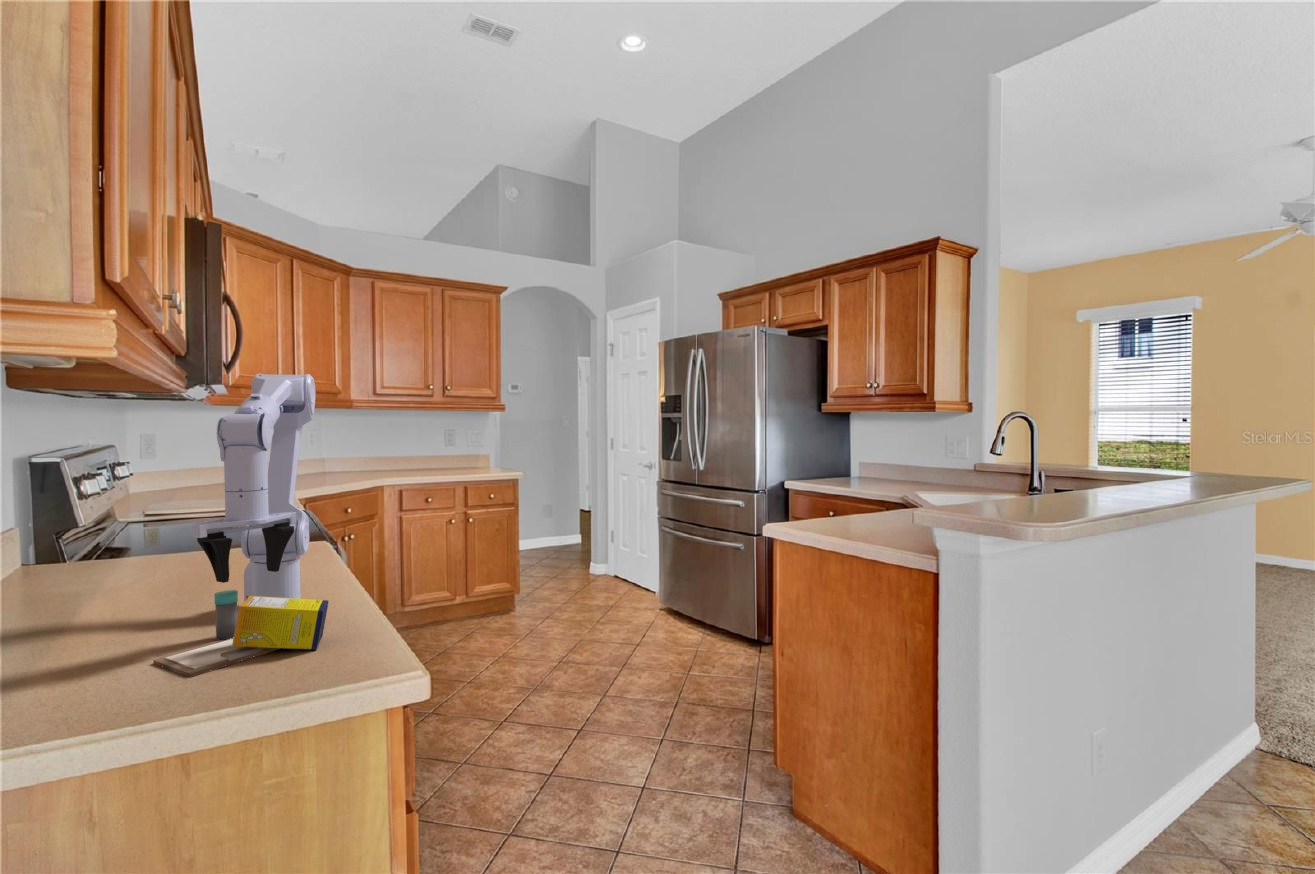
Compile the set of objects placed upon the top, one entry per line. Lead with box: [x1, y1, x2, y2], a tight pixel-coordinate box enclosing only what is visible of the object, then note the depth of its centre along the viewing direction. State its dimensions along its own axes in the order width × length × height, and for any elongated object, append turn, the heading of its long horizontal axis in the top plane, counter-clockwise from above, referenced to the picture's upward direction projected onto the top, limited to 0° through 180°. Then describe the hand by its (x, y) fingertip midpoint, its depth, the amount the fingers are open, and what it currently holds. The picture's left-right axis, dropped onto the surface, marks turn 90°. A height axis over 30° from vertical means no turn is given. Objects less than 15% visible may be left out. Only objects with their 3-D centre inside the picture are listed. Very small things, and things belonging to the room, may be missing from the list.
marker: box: [213, 589, 239, 641], centre depth 99 cm, size 3×3×7 cm
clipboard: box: [152, 638, 281, 678], centre depth 93 cm, size 10×16×1 cm, turn 151°
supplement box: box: [232, 596, 329, 650], centre depth 94 cm, size 6×6×11 cm
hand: (248, 576), depth 99 cm, fingers open, 7 cm apart
